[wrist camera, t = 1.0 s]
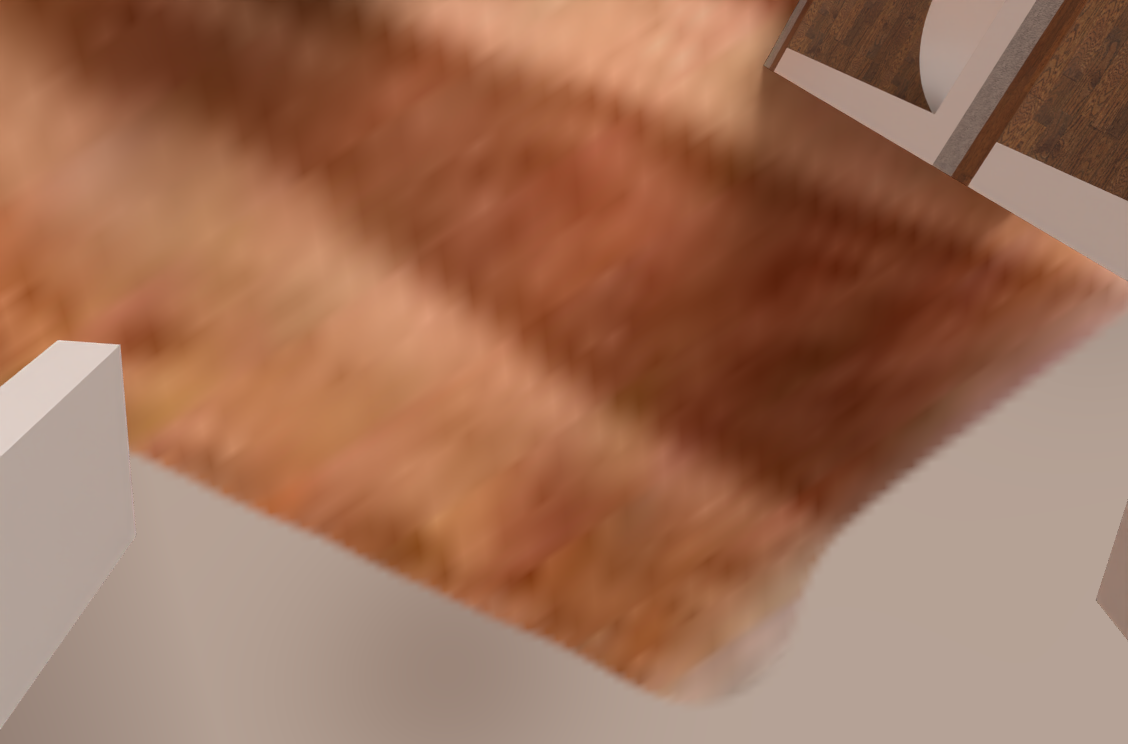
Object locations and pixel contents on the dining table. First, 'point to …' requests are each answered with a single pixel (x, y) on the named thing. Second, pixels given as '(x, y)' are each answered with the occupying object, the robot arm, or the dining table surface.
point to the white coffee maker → (987, 99)
